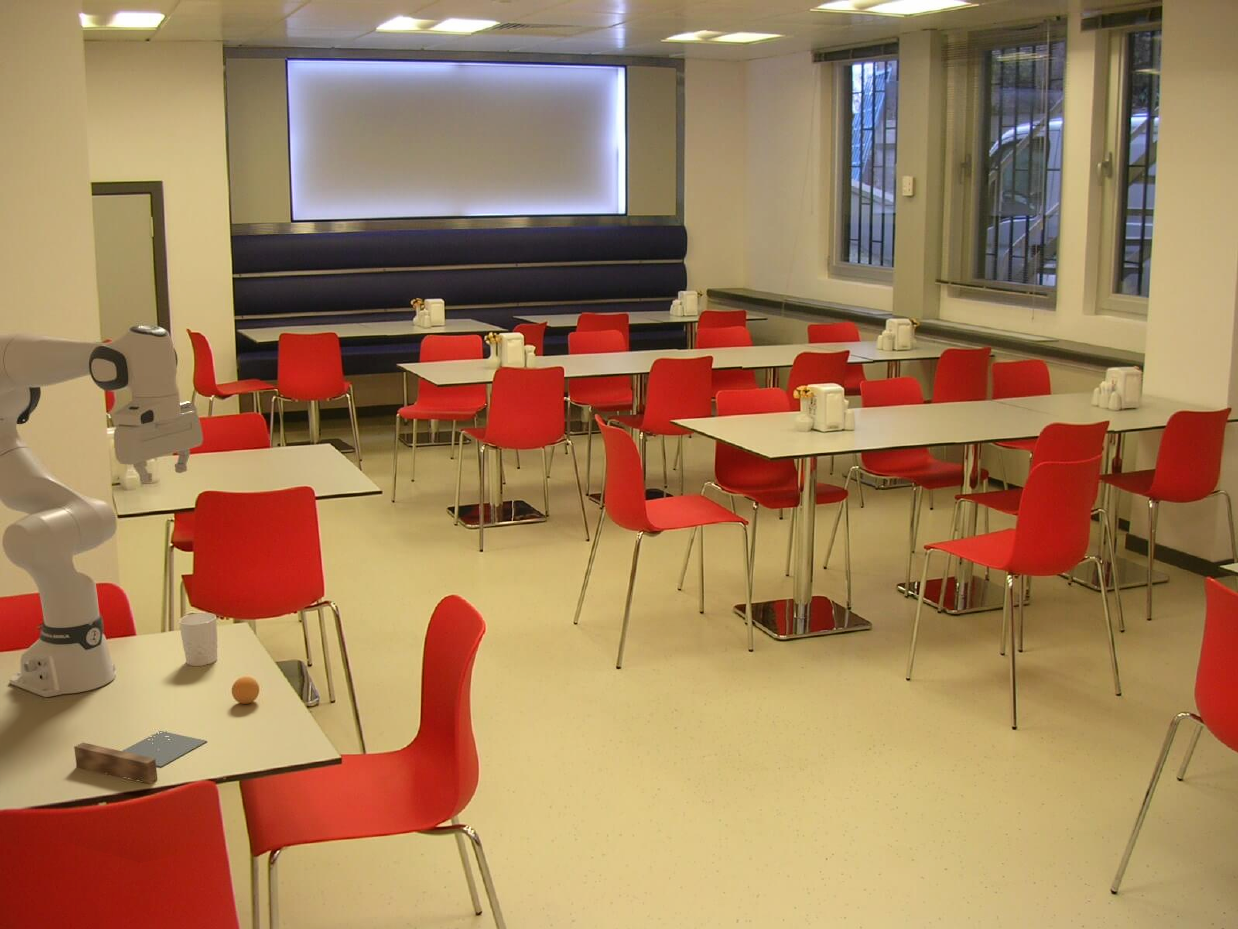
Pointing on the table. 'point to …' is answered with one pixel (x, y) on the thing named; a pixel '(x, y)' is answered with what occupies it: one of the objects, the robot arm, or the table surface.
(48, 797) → the table surface
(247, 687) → the ball
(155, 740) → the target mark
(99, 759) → the stopper wall
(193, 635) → the white cup
